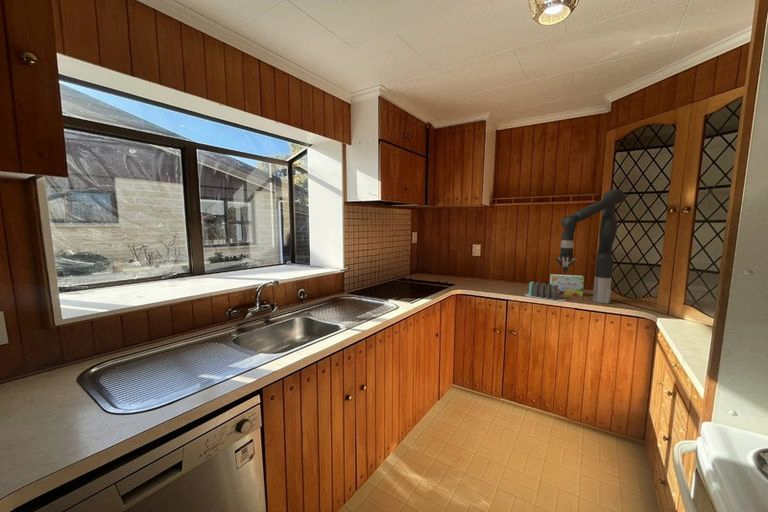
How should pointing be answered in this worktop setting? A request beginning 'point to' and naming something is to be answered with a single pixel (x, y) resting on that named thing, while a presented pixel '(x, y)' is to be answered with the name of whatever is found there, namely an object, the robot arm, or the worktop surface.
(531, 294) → the domino
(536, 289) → the domino
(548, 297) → the domino
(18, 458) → the worktop surface
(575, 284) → the snack box
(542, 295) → the domino
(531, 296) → the mat
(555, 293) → the domino
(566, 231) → the robot arm
